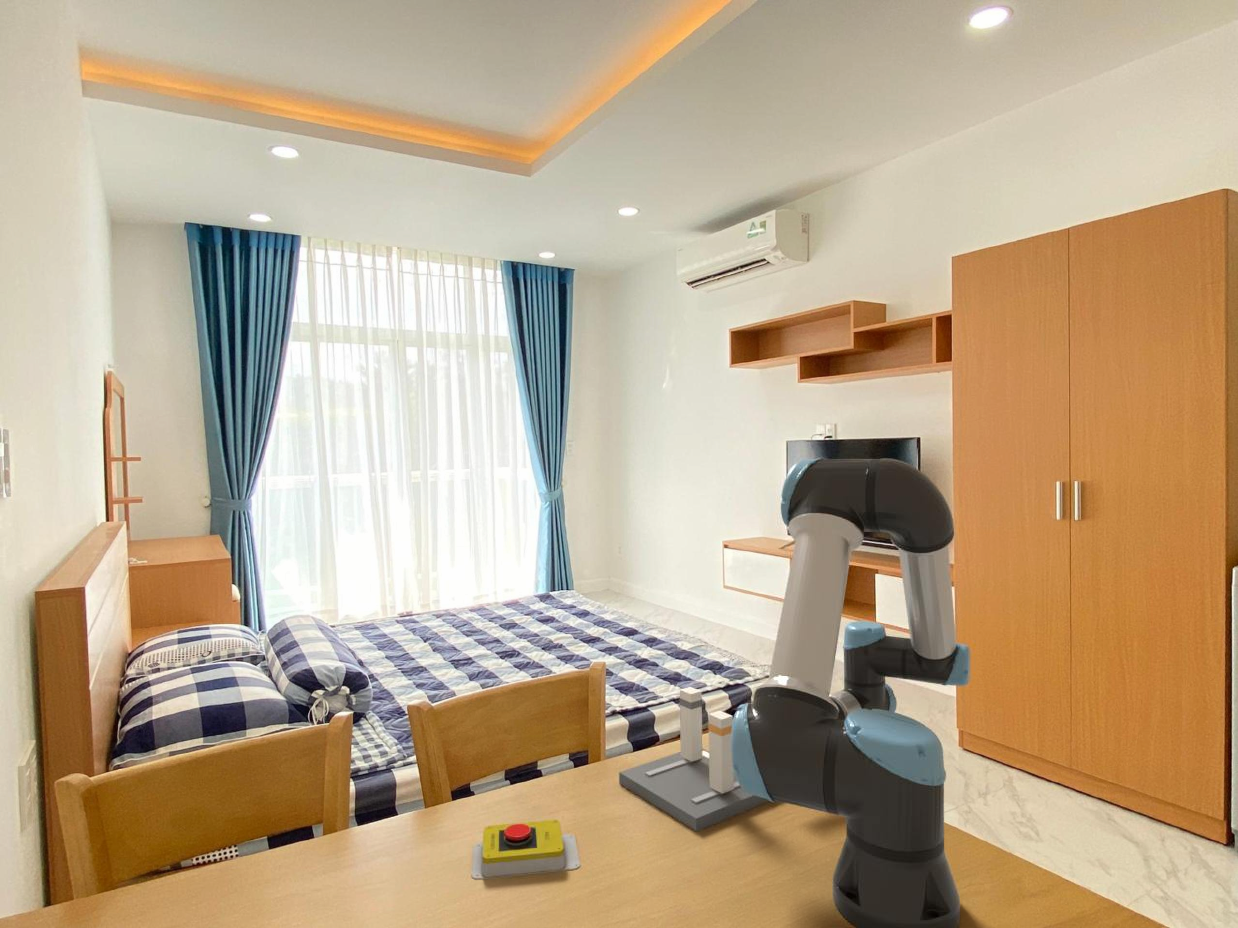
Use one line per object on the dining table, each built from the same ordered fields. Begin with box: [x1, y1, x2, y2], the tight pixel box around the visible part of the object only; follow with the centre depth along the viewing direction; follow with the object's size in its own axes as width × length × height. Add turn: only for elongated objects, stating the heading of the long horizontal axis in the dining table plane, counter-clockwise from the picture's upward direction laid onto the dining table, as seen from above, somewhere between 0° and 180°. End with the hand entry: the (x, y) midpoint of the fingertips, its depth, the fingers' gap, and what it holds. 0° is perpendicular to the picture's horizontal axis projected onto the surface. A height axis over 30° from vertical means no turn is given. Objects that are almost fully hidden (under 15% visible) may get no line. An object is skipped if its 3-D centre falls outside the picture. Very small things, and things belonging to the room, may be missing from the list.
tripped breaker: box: [707, 710, 734, 794], centre depth 122 cm, size 3×3×12 cm
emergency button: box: [470, 819, 581, 880], centre depth 108 cm, size 9×4×15 cm
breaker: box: [679, 686, 703, 762], centre depth 134 cm, size 3×3×12 cm
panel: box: [618, 748, 770, 832], centre depth 127 cm, size 18×20×2 cm
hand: (748, 745), depth 126 cm, fingers open, 13 cm apart
